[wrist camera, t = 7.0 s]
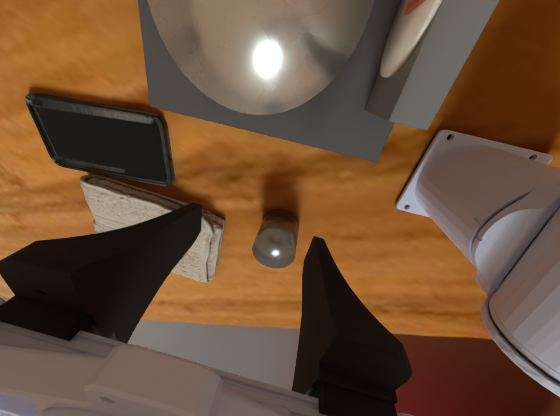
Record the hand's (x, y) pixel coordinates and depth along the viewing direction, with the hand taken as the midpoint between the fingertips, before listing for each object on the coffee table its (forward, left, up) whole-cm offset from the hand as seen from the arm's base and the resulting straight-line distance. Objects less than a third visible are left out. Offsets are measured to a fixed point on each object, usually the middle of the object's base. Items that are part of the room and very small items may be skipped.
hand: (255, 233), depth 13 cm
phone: (+20, +1, -11) cm, 22 cm away
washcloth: (+14, +12, -11) cm, 22 cm away
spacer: (-1, +6, -10) cm, 12 cm away
